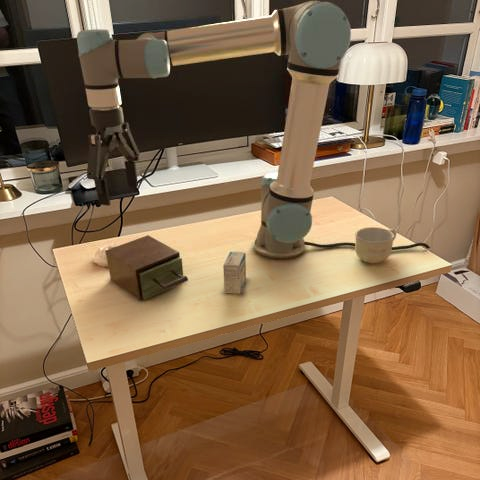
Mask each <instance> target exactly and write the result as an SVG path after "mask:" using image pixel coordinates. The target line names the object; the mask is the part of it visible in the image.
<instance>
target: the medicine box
mask: <svg viewBox="0 0 480 480" xmlns="http://www.w3.org/2000/svg"><path fill="white" fill-rule="evenodd" d="M246 256H247V255H246V252H244V251H229V253H228V255H227V257H226V260H225V261H224V264H222V265H223V267H222V268H223V284H224V285H223V287H224V288H223V290H224V293H225V294H233V295H234V294H236V295H241V293H242V291H243V288H244V286H245V283H246V280H247V266H246V265H247V263H246V261H247V260H246V259H247V258H246Z"/></svg>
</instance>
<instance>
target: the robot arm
mask: <svg viewBox="0 0 480 480" xmlns="http://www.w3.org/2000/svg"><path fill="white" fill-rule="evenodd" d="M351 37H352V29H351V24H350V21H349V19H348V16H347V15H346V13H345V12H344V11H343V10H342V9H341V8H340V6H338V5H337V4H335V3H333V2H328V1H321V0H309V1H305V2H302V3H300V4H297V5H294V6H290V7H285V8H280V9H274V11H273V12H272V14H271V15H267V16H259V17H253V18H247V19H239V20H233V21H226V22H218V23H213V24H206V25H199V26H192V27H186V28H178V29H171V30H167V31H158V32H151V31H149V32H145V33H144V32H143V33H142V34H140V35H138V37H137V38H136V39H123V40H122V39H121V40H120V39H114V37H113V36H112V33H111V31H110V30H109V29H104V28H103V29H101V28H100V29H99V28H98V29H97V28H94V29H84V30H80V31H78V32H77V34H76V42H77V49H78V58H79V64H80V67H81V73H82V78H83V82H84V88H85V94H86V99H87V105H88V107H89V117H90V123H91V125H92V126H93V127H94V128H95V129H96V134H88V137H87V138H88V145H89V146H88V155H87V156H88V157H87V166H86V167H87V168H86V170H87V171H86V179H87V180H93V182H94V189H95V192H96V194H97V197H98V198H97V200H98V203H99V205H100V206H111V200H110V194H109V188H108V183H107V178H105V177H104V176H105V172H106V168H107V164H108V160H109V157H110V154H111V153H112V151H113V150H115V148H116V149H117V150H118V151H119V152H120V153H121V155H122V156H123V157H124V159H125V161H124V168H125V175H126V181H127V186H128V187H132V188H138V187H139V181H138V180H139V179H138V174H137V165H136V162H139V161H140V151H139V149H138V147H137V144H136V142H135V140H134V137H133V135H132V133H131V130H130V125H129V123H128V122H126V121H125V120H124V119H125V118H124V112H123V107H121V105H122V96H121V91H120V85H119V79H151V78H152V79H157V78H166V77H168V76H169V75H170V71H171V67H174V66H175V67H176V66H181V65H190V64H196V63H204V62H210V61H219V60H224V59H231V58H240V57H246V56H253V55H262V54H268V53H275V54H276V55H277V56H286V55H287V56H288V63H287V71H288V73H289V75H290V76H291V78H292V80H291V86H290V92H289V99H288V105H287V111H286V118H285V125H284V130H283V138H282V143H281V150H280V157H279V163H278V169H277V172H271V173H266V174H264V175H263V176H262V177H261V183H260V187H261V199H260V200H261V202H260V203H261V205H260V209H261V210H260V225H259V229H258V232H257V234H256V236H255V238H254V250H255V252H256V253H257V254H259V255H261V256H262V257H265V258H268V259H271V260H272V259H273V260H285V259H286V260H289V259H293V258H296V257H299V256H300V255H301V254H303V253H304V251H305V245H306V246H311V247H315V248H321V249H328V248H329V249H330V248H335V247H344V246H345V247H346V246H347V247H355V242H336V243H329V244H328V243H327V244H320V243H315V242H310V241H305V239H304V238H305V237H306V236H307V235H308V234H309V232H310V231H311V229H312V225H313V216H312V213H311V211H312V206H313V201H314V195H315V190H314V188H313V187H312V186H311V179H312V176H313V170H314V166H315V159H316V154H317V150H318V145H319V139H320V134H321V129H322V125H323V119H324V114H325V109H326V104H327V100H328V94H329V89H330V85H331V83H332V82H333V81H334V80H335V79H337V78H338V77H339V73H340V68H341V63H342V60H343V58H344V57H345V55H346V54H347V51H348V50H349V47H350V45H351V40H352V38H351ZM417 247H424V248H426V249H431V247H430V246H429V244H428V243H425V242H417V243H412V244H408V245H398V246H392V250H391V251H397V250H407V249H408V250H409V249H412V248H417Z"/></svg>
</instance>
